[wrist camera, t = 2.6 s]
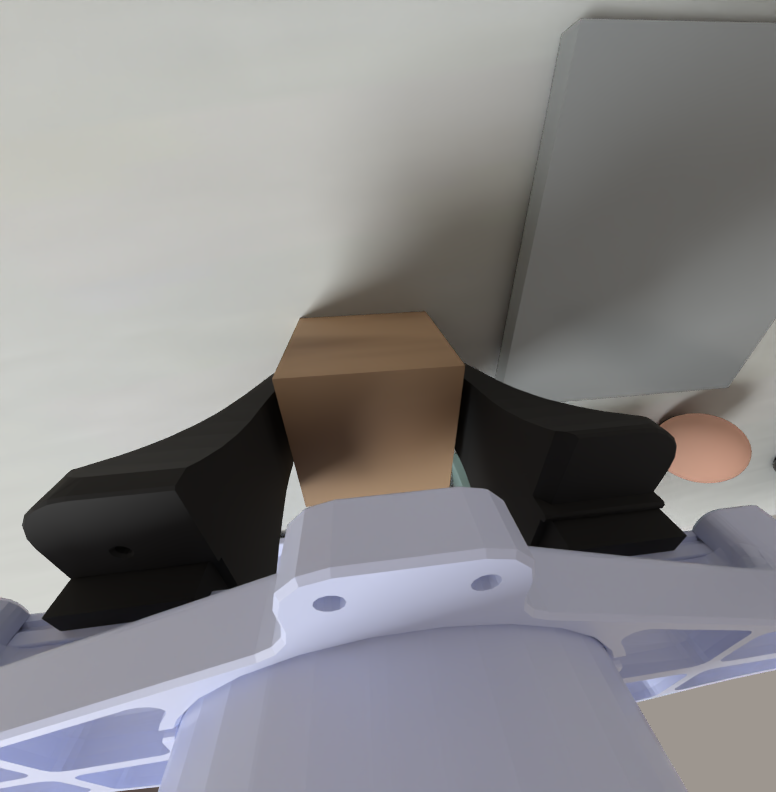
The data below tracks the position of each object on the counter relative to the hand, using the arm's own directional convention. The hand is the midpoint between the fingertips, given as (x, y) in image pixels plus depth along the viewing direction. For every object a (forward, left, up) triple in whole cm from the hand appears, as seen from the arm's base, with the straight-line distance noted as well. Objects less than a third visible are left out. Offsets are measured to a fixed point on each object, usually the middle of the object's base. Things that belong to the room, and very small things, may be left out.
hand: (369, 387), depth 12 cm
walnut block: (0, 0, -2) cm, 2 cm away
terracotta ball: (-5, -17, -1) cm, 18 cm away
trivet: (+4, -12, -1) cm, 13 cm away
